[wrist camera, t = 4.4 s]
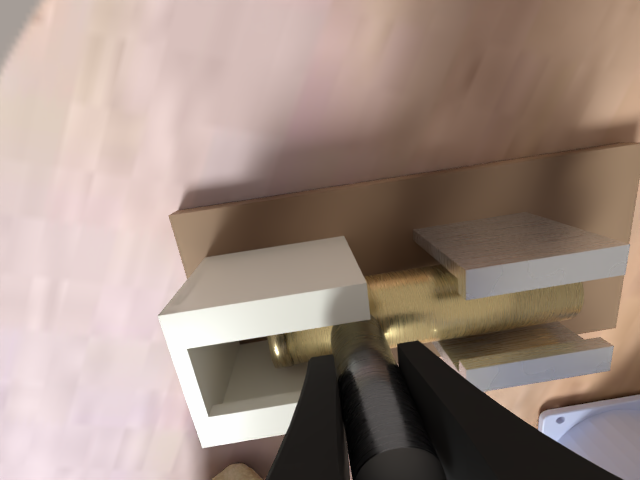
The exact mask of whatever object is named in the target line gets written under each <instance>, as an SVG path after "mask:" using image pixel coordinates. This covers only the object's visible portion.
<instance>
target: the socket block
mask: <svg viewBox="0 0 640 480" xmlns="http://www.w3.org/2000/svg"><path fill="white" fill-rule="evenodd" d="M158 318H159V321H160V324H161V327H162V330H163V333H164V336H165V339H166V342H167V345H168V348H169V351H170V354H171V357H172V360H173V363H174V366H175V368H176V371H177V374H178V377H179V380H180V383H181V386H182V389H183V392H184V395H185V398H186V401H187V404H188V407H189V410H190V413H191V416H192V419H193V422H194V425H195V428H196V431H197V434H198V437H199V440H200V443H201V446H202V448H206V447H212V446H218V445H224V444H230V443H236V442H242V441H248V440H254V439H260V438H266V437H272V436H278V435H284V434H286V432H287V430H288V427H289V425H290V422H291V420H292V417H293V414H294V411H295V408H296V405H297V402H298V400H299V397H300V394H301V390H302V387H303V383H304V380H305V376H306V371H307V366H308V362H305V363H298V364H294V365H293V366H289V367H283V368H275V366H274V364H273V362H272V359H271V355H270V351H269V346H268V340H266V341H259V342H253V343H247V344H241V345H240V343H239V340H245V339H251V338H258V337H264V336H270V335H276V334H283V333H289V332H295V331H301V330H307V329H314V328H320V327H326V326H332V325H339V324H345V323H351V322H357V321H364V320H370V319H371V318H370V309H369V300H368V291H367V283H366V280H365V278H364V276H363V274H362V272H361V270H360V268H359V266H358V264H357V262H356V260H355V258H354V255H353V253H352V251H351V249H350V247H349V245H348V243H347V241H346V239H345V237H344V236H339V237H333V238H327V239H320V240H314V241H307V242H301V243H294V244H288V245H282V246H275V247H269V248H262V249H256V250H249V251H243V252H237V253H230V254H224V255H217V256H211V257H205V258H204V260H203V261H202V262H201V263H200V265H199V266H198V267H197V268H196V269H195V271H194V272H193V273H192V274H191V276H190V277H189V278H188V279H187V281H186V282H185V283H184V284H183V286H182V287H181V288H180V289H179V290H178V292H177V293H176V294H175V295H174V297H173V298H172V299H171V300H170V302H169V303H168V304H167V305H166V307H165V308H164V309H163V310H162V311H161V313H160V314H159V315H158Z"/></svg>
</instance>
